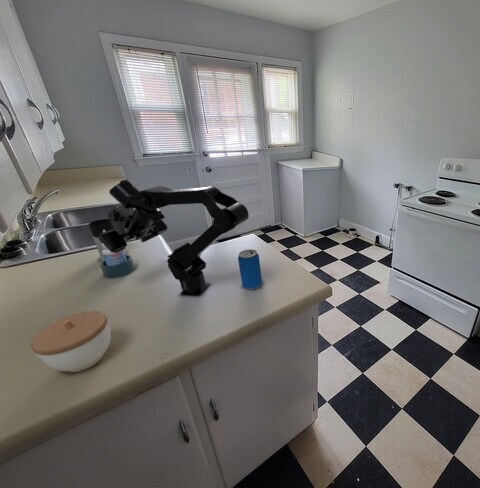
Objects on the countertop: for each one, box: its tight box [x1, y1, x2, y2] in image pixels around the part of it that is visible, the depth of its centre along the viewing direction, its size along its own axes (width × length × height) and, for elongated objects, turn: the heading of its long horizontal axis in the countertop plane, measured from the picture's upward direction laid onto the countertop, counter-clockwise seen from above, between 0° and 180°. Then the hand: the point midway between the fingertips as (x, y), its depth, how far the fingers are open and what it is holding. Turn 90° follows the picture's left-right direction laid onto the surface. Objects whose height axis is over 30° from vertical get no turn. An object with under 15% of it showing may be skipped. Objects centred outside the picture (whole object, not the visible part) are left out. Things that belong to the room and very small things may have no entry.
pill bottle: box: [102, 243, 127, 266], centre depth 98 cm, size 6×6×11 cm
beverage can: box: [237, 248, 263, 290], centre depth 88 cm, size 6×6×12 cm
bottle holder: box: [99, 254, 136, 279], centre depth 100 cm, size 9×9×4 cm
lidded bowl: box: [29, 310, 112, 373], centre depth 61 cm, size 13×13×11 cm
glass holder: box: [87, 218, 127, 262], centre depth 108 cm, size 9×14×15 cm, turn 42°
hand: (129, 246), depth 90 cm, fingers open, 9 cm apart
